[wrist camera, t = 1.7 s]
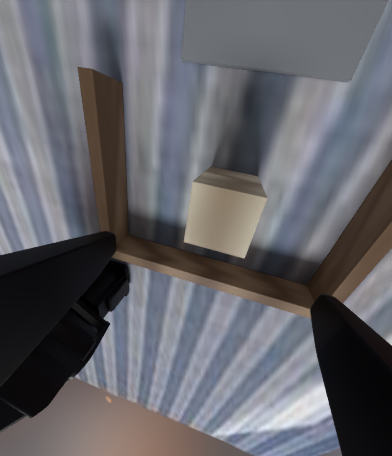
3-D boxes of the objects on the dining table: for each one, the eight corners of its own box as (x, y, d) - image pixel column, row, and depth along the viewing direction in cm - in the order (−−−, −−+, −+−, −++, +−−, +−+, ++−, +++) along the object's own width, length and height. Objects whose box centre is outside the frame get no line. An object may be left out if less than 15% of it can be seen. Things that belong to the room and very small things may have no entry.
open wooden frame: (121, 240, 24) (103, 255, 21) (110, 81, 15) (77, 66, 12) (313, 295, 20) (325, 322, 17) (433, 129, 12) (499, 126, 9)
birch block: (202, 209, 19) (183, 241, 13) (211, 166, 17) (192, 181, 10) (243, 219, 18) (244, 258, 12) (257, 176, 16) (267, 198, 10)
